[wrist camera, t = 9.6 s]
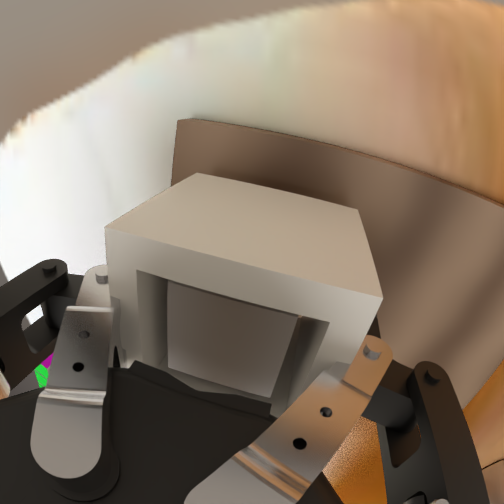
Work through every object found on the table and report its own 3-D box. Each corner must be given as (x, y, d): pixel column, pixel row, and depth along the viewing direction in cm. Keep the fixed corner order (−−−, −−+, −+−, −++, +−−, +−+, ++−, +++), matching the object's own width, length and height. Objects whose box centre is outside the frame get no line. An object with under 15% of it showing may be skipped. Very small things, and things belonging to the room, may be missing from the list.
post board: (555, 231, 12) (636, 308, 4) (445, 410, 19) (460, 499, 12) (190, 118, 14) (67, 140, 7) (175, 353, 22) (121, 445, 14)
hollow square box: (357, 209, 11) (383, 298, 6) (314, 336, 14) (301, 446, 9) (196, 172, 12) (104, 226, 7) (185, 302, 15) (126, 391, 10)
